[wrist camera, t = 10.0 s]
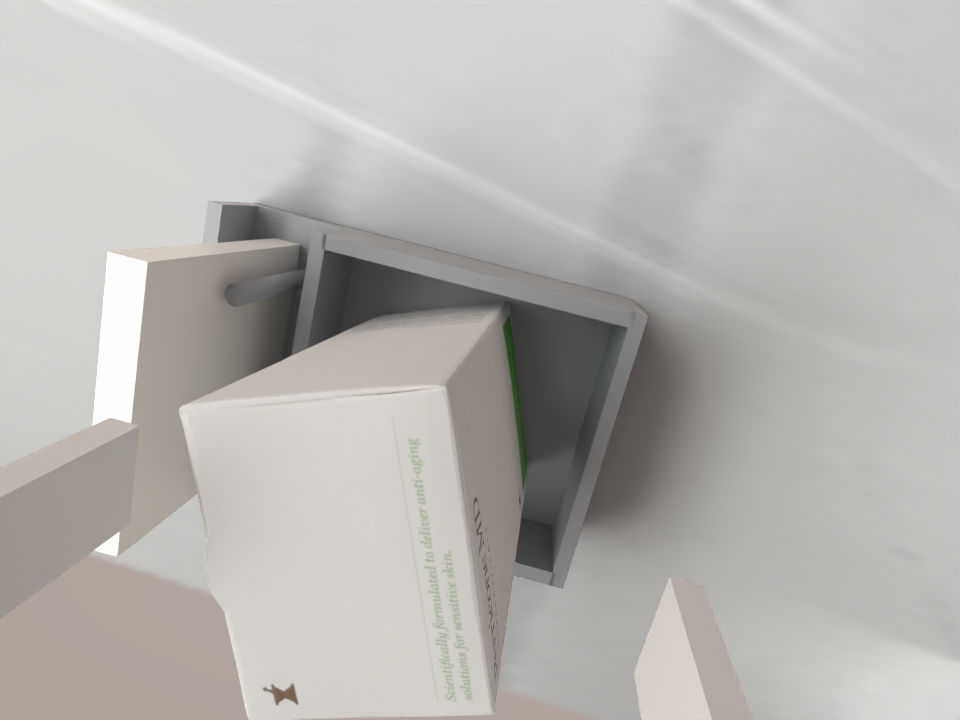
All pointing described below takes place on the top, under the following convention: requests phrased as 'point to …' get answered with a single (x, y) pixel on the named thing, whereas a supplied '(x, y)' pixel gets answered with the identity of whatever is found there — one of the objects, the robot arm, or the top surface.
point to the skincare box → (368, 516)
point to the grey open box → (330, 311)
